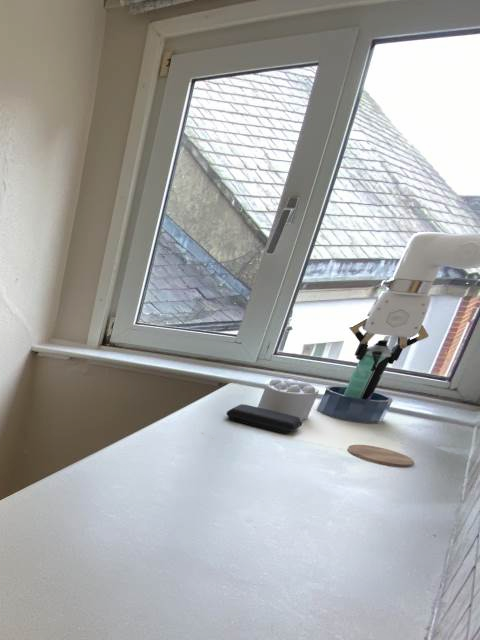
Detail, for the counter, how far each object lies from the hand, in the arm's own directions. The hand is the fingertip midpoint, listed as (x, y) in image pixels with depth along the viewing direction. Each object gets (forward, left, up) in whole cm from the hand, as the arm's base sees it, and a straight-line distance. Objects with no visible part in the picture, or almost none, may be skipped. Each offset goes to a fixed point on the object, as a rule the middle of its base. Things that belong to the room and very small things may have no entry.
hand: (374, 360), depth 141 cm
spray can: (0, 0, -15) cm, 15 cm away
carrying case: (-6, +32, -15) cm, 36 cm away
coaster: (-27, +22, -15) cm, 38 cm away
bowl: (0, 0, -15) cm, 15 cm away
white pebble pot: (+1, +20, -15) cm, 25 cm away
